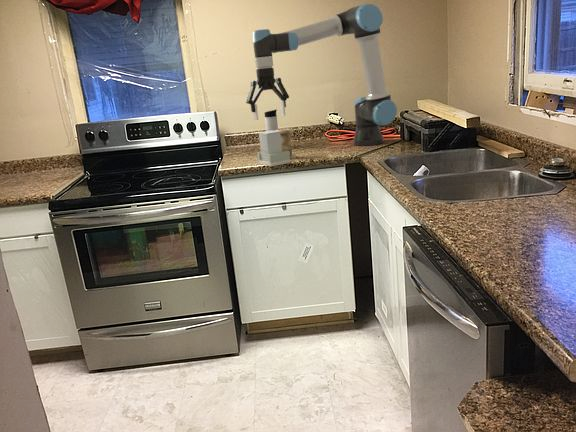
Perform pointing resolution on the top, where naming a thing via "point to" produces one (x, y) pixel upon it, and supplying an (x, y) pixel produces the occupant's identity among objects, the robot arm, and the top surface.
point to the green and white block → (275, 159)
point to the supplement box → (270, 143)
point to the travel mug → (271, 120)
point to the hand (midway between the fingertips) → (269, 117)
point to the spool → (286, 141)
